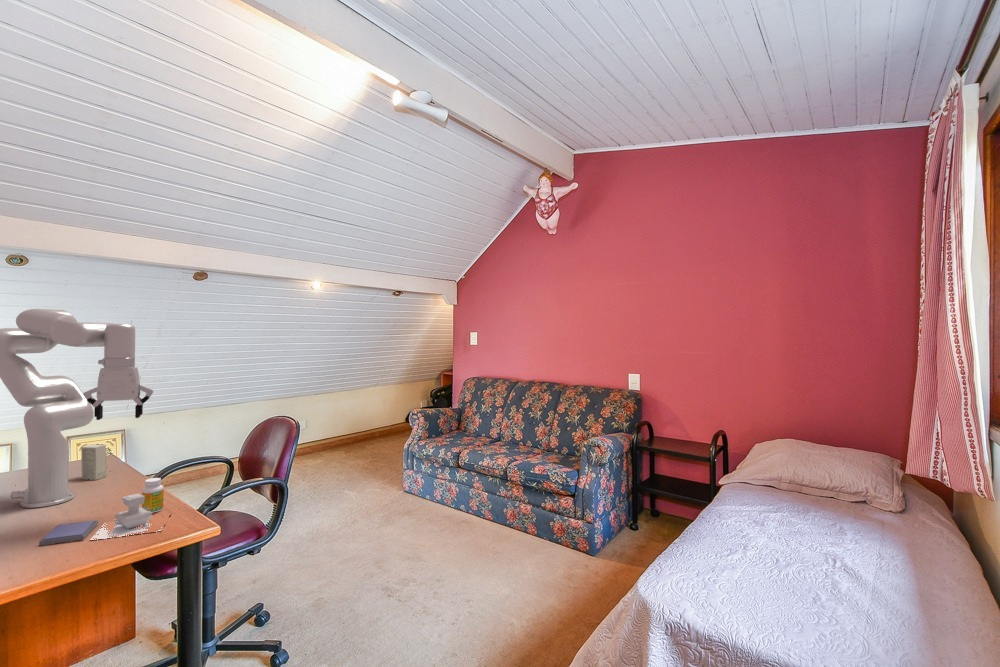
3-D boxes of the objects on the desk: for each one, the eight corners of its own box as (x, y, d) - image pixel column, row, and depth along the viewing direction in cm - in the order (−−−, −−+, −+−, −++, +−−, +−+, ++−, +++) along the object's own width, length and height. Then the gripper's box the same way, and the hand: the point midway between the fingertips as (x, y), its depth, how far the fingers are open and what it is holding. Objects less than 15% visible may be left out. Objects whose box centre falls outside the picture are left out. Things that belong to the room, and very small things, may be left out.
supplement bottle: (151, 515, 145) (152, 483, 144) (137, 513, 146) (137, 481, 146) (167, 508, 150) (168, 477, 150) (153, 507, 151) (153, 476, 151)
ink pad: (39, 546, 123) (39, 540, 123) (57, 529, 133) (57, 524, 133) (83, 540, 127) (83, 534, 127) (98, 524, 137) (98, 519, 137)
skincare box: (106, 476, 180) (107, 444, 180) (95, 480, 175) (95, 447, 175) (91, 475, 181) (92, 443, 180) (80, 479, 176) (80, 446, 176)
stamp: (118, 534, 130) (119, 503, 130) (109, 528, 134) (110, 498, 134) (156, 523, 138) (157, 494, 138) (147, 518, 142) (147, 489, 142)
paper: (89, 541, 126) (89, 540, 126) (106, 521, 139) (106, 520, 139) (161, 531, 133) (161, 530, 133) (171, 513, 146) (172, 513, 146)
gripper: (79, 364, 142) (78, 422, 142) (150, 363, 149) (149, 418, 149) (88, 362, 148) (88, 417, 148) (156, 362, 156) (155, 414, 156)
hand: (118, 418), depth 149 cm, fingers open, 9 cm apart
